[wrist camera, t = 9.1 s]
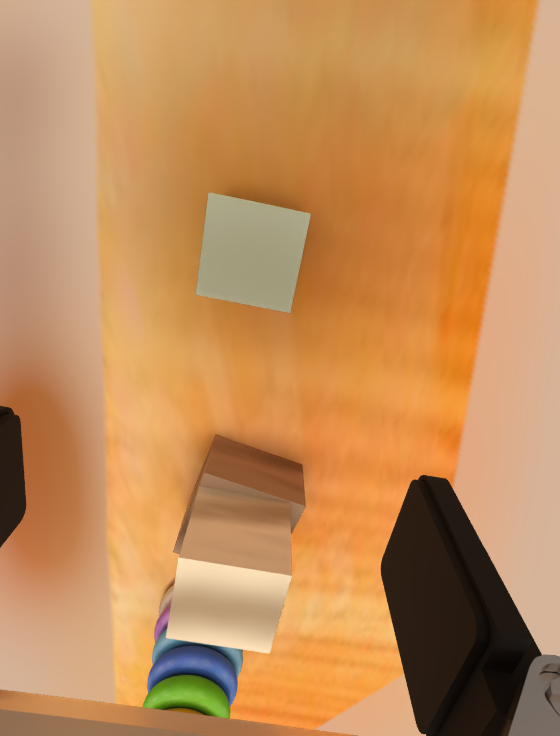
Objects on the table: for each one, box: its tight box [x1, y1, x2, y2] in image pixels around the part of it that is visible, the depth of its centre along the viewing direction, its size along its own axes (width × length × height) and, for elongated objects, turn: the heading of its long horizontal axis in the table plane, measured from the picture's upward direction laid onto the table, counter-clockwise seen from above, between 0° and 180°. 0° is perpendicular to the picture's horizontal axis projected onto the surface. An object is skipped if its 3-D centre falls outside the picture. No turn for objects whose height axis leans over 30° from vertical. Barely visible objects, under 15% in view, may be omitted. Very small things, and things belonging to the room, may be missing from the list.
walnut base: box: [173, 435, 306, 554], centre depth 31 cm, size 7×7×5 cm
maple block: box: [166, 486, 292, 653], centre depth 26 cm, size 6×6×6 cm
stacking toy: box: [143, 585, 243, 719], centre depth 29 cm, size 8×8×19 cm
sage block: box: [196, 193, 311, 313], centre depth 24 cm, size 5×5×6 cm
